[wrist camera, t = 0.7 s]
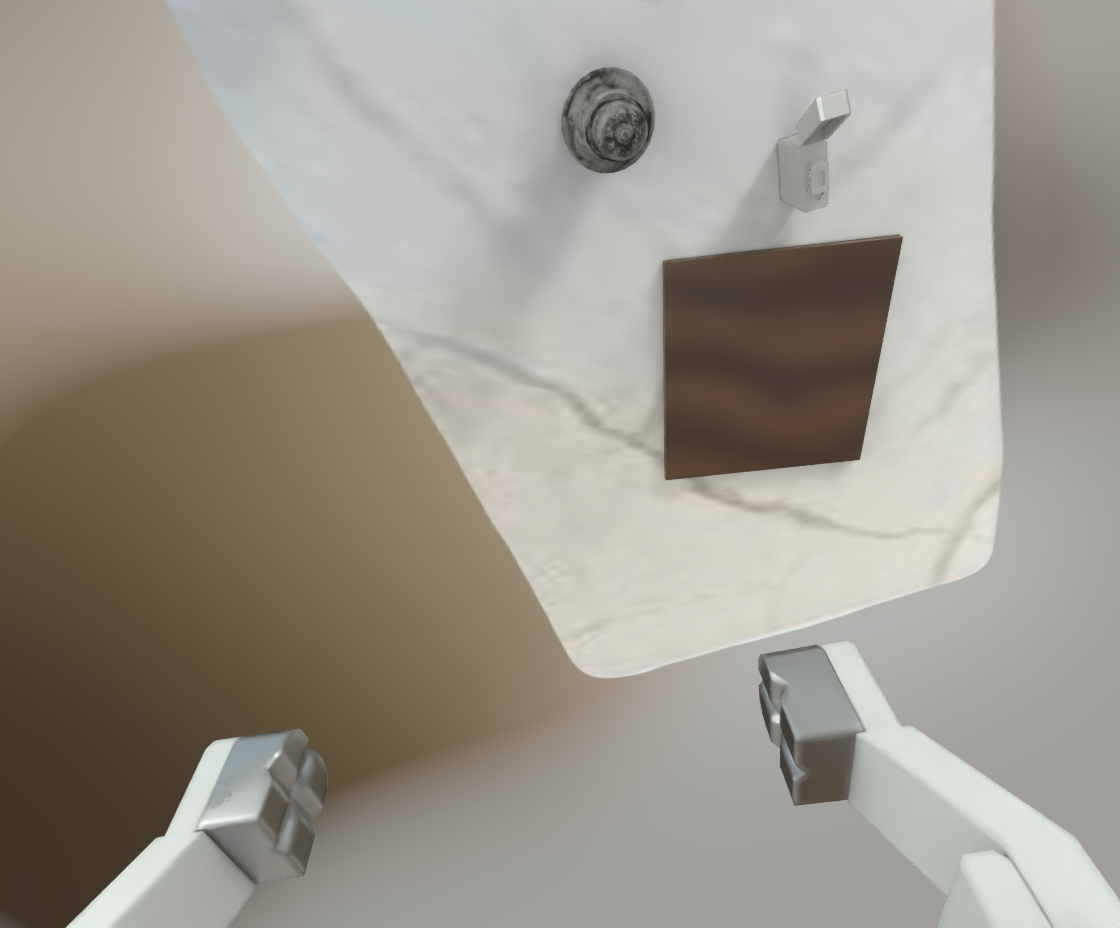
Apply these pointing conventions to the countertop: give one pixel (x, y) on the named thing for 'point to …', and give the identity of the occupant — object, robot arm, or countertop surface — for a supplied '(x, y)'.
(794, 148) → the lighter
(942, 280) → the countertop surface
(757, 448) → the walnut board
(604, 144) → the tarnished pewter finial
